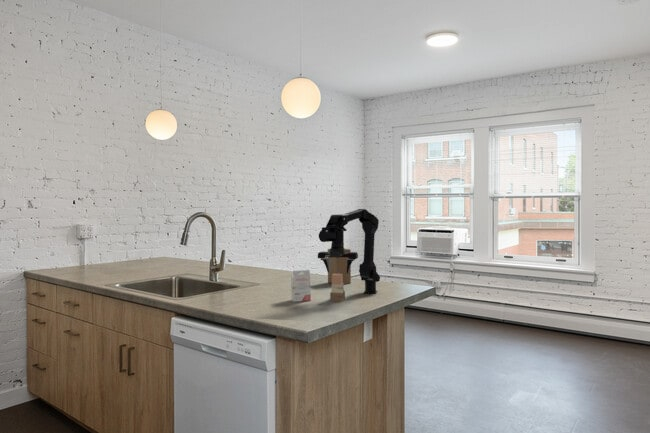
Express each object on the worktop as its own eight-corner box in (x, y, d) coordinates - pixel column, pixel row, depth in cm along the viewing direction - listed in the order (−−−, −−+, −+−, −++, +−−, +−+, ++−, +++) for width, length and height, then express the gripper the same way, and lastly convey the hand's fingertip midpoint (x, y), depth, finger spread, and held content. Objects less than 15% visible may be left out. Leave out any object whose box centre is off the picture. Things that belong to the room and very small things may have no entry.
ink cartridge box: (308, 298, 227) (308, 268, 226) (310, 300, 222) (310, 270, 221) (291, 299, 224) (290, 269, 224) (293, 301, 219) (292, 270, 219)
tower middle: (333, 290, 226) (333, 282, 226) (343, 291, 225) (343, 283, 225) (331, 292, 221) (331, 284, 221) (342, 293, 220) (341, 284, 220)
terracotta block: (333, 282, 226) (333, 273, 225) (342, 283, 225) (342, 273, 225) (331, 284, 221) (331, 275, 221) (341, 284, 220) (341, 275, 220)
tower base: (332, 298, 227) (332, 290, 227) (345, 299, 225) (344, 291, 225) (330, 301, 221) (330, 292, 221) (342, 301, 219) (342, 293, 219)
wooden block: (351, 283, 270) (350, 249, 269) (336, 285, 265) (336, 250, 264) (341, 281, 278) (341, 247, 278) (327, 282, 273) (327, 248, 273)
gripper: (314, 241, 217) (314, 275, 217) (354, 242, 212) (354, 276, 213) (320, 240, 228) (320, 271, 228) (358, 240, 223) (358, 272, 224)
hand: (337, 273), depth 223 cm, fingers open, 9 cm apart
